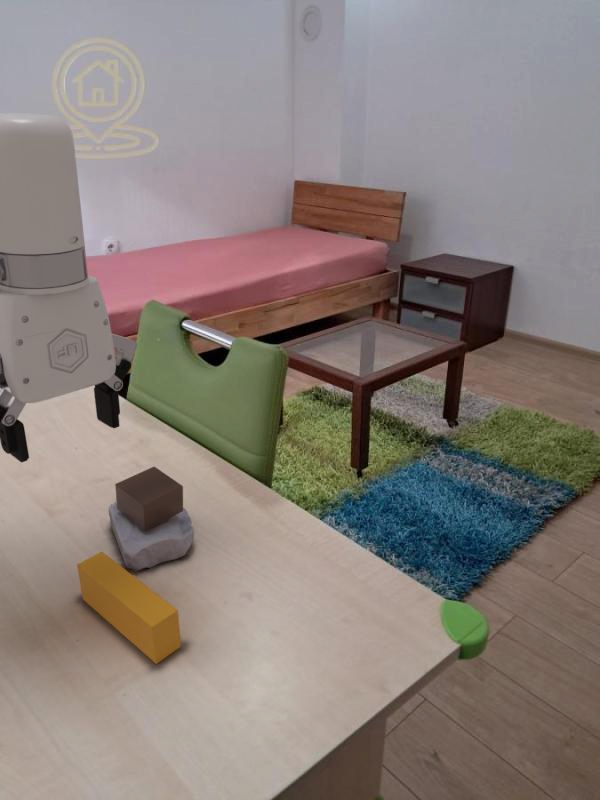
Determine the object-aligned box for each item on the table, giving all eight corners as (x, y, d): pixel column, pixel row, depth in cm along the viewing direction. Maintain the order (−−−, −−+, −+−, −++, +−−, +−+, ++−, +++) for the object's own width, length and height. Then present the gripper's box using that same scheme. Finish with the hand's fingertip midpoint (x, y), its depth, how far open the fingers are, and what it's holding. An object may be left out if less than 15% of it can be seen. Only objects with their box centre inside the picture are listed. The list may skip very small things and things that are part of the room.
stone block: (173, 516, 91) (102, 523, 86) (178, 487, 89) (106, 492, 84) (201, 568, 81) (122, 578, 76) (206, 536, 79) (127, 545, 74)
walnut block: (116, 509, 81) (115, 483, 80) (155, 490, 86) (154, 466, 84) (144, 531, 78) (143, 505, 76) (183, 511, 82) (183, 486, 80)
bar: (156, 664, 64) (152, 627, 62) (82, 599, 73) (76, 564, 71) (181, 646, 67) (178, 610, 64) (106, 585, 75) (101, 551, 73)
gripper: (-43, 293, 47) (-5, 487, 54) (149, 261, 59) (160, 424, 66) (-81, 274, 52) (-41, 456, 59) (105, 248, 64) (119, 402, 71)
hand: (65, 439), depth 63 cm, fingers open, 9 cm apart
